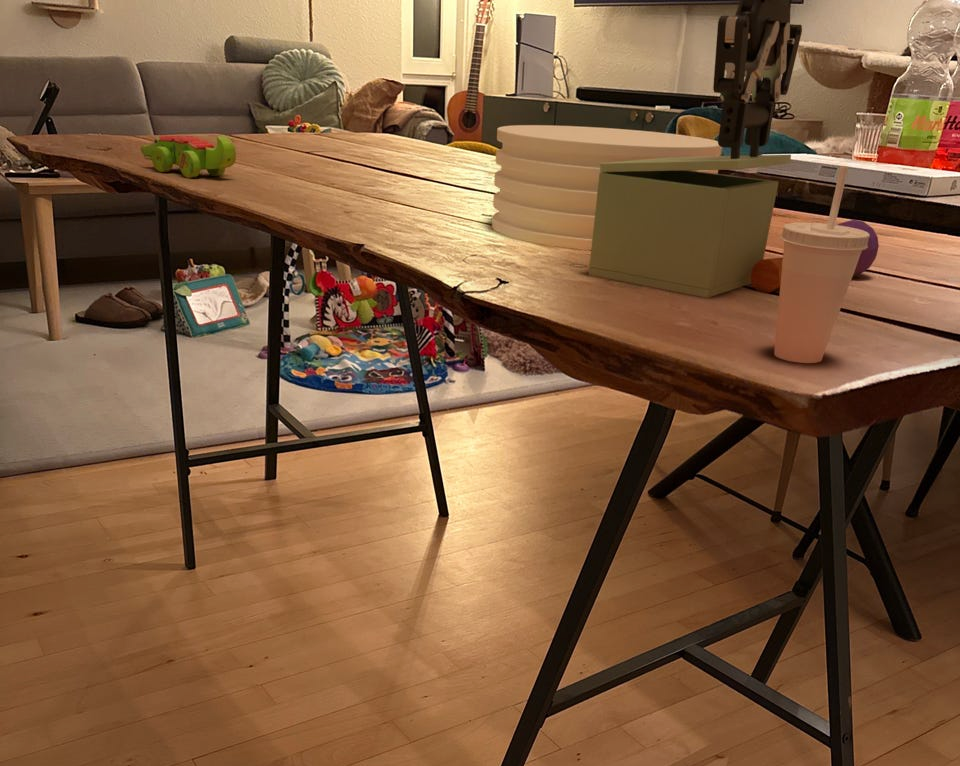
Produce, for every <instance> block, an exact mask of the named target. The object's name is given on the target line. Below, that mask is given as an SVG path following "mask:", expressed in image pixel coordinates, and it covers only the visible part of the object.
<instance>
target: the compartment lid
mask: <svg viewBox="0 0 960 766" xmlns="http://www.w3.org/2000/svg"><path fill="white" fill-rule="evenodd" d="M768 118H769V111H768V109H767V107H765V106H764V105H750V104H749V105H748V111H747V118H746V124H745V130H746V129H748V128H752V133H751V145H749V146H750V147H749V155H741V147H742V145H741V146H740V147H739V148H730V155H720V156H715V157H678V158H654V159H643V160H631V161H620V162H608V163H600V172H629V171H683V170H718V171H723V170H724V171H730V170H731V171H732V170H745V169H753V168H763V167H769V166H770V167H771V166H778V165H787V164H788V165H789V164H791V160H792V154H763V155H762V154H760V146H759V144H760V132H761V127H763V126H764V125H765V124H766V123H767V121H768ZM759 154H760V155H759Z"/></svg>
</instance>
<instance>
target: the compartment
mask: <svg viewBox="0 0 960 766" xmlns="http://www.w3.org/2000/svg"><path fill="white" fill-rule="evenodd" d="M778 187H779V181H777V180H769V179H761V178H755V177H745V176H738V175H729V174H723V173H718V174H714V173H706V172H698V171H690V170H683V171H629V172H602V173H600V174H599V183H598V192H597V201H596V210H595V220H594V229H593V238H592V248H591V250H590V257H589V258H590V259H589V268H588V275H589V276H594V277H599V278H604V279H607V280H614V281H620V282H624V283H628V284H635V285H639V286H640V285H641V286H645V287H650V288H656V289H660V290H665V291H669V292H676V293H681V294H686V295H690V296H696V297H701V298H707V299H708V298H711V297H714V296H718V295H720V294H724V293H727V292H729V291H732V290H735V289H739V288H742V287H744V286H748V285H752V282H751V272H752V269H753V267H754V265H755V264H756V263H757V262H758V261H760V260H764V259H765V253H766V248H767V242H768V238H769V233H770V228H771V223H772V217H773V212H774V207H775V202H776V198H777V192H778Z"/></svg>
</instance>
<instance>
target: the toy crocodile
mask: <svg viewBox="0 0 960 766" xmlns="http://www.w3.org/2000/svg"><path fill="white" fill-rule="evenodd" d="M153 141H154V142H152V143H150V144H148V145H146V144H145V145H144V144H143V145H141V147H140V151H141V154H142V155H143V158H144V159H145V160H146V161H147V160H148V161H151V162H152V165H153V167H154V168H155V170H156V171H158V172H160V173H166V172H167V173H169V172H170V171H171V170H173V166H174V165H176V166H178V167H179V171H180V172H181V174H182V175H183V176H184V177H185V178H187V179H193V178H197V177H198V176H199V175H200V173H201V171H207V173H208V174H209V175H210V176H212V177H221V176H223V175H224V174H225V172H226V168H231V167H232V166H234V164H235V162H236V160H237V153H236V152H237V151H236V148H235V145H234V142H233V141H232V140H231V139H230V138H229V137H227V136H226V135H221V136H220V135H219V136H216V143H217V144H216V146H214V145H213V144H212V143H210V142H208V141H207V140H201V139H200V138H199V137H194V136H180V135H177V136H176V135H161V136H160V137H156V138H154V139H153Z"/></svg>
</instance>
